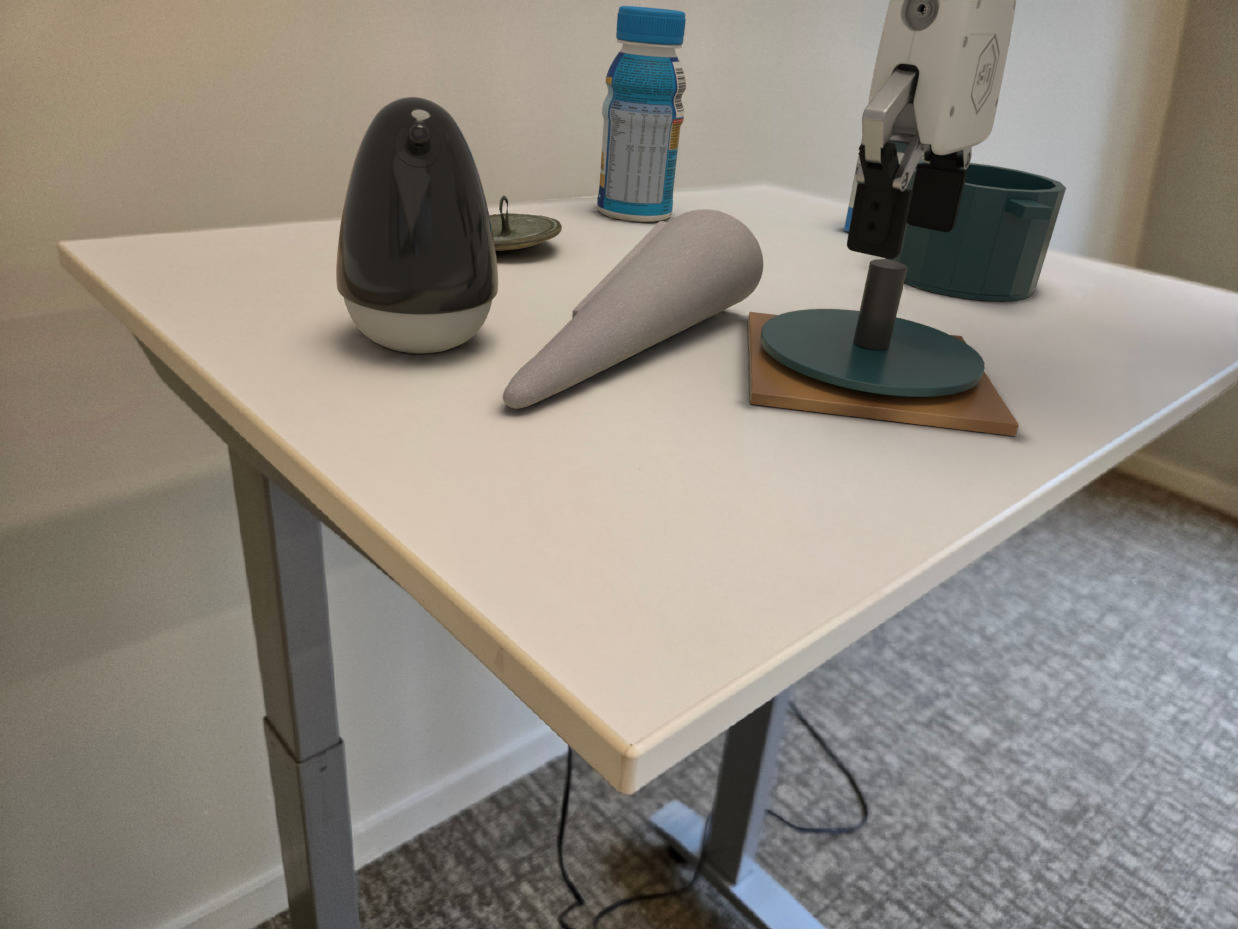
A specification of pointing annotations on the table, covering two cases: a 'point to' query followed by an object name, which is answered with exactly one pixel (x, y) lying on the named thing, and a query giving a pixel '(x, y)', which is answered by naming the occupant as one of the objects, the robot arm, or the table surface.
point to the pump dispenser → (416, 233)
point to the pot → (987, 237)
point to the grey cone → (646, 301)
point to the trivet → (871, 396)
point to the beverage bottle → (642, 116)
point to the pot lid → (873, 344)
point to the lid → (521, 229)
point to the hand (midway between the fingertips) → (902, 240)
